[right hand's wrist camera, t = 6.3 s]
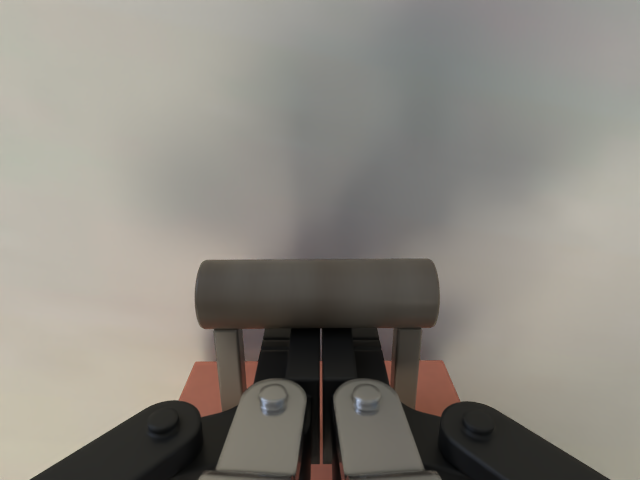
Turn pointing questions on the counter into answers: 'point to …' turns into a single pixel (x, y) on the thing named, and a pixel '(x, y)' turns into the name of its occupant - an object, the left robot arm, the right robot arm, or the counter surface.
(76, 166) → the counter surface
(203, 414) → the drawer
